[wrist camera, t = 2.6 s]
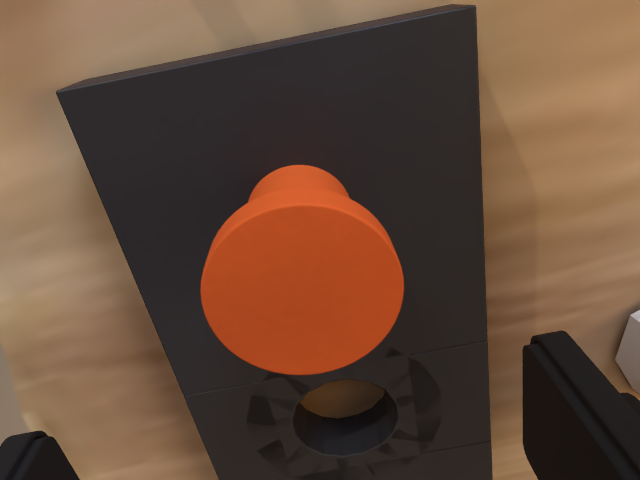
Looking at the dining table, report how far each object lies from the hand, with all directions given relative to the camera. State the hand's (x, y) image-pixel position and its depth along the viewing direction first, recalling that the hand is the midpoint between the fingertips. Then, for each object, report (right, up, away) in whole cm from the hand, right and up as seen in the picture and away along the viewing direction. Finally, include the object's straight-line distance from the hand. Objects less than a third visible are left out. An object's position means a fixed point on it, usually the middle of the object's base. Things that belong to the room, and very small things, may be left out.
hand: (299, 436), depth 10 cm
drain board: (+1, +1, +14) cm, 14 cm away
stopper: (0, +5, +9) cm, 10 cm away
